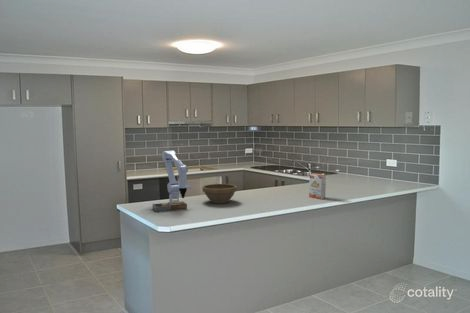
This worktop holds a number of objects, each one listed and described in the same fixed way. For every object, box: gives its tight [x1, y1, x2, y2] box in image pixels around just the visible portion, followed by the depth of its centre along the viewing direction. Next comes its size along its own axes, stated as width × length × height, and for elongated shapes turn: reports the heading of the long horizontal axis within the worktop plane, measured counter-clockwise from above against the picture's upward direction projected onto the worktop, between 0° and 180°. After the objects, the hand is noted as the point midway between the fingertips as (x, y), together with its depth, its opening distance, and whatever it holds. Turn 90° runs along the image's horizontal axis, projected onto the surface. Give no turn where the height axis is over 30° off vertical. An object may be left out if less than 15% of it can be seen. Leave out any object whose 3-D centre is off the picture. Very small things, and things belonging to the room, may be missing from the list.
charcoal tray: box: [152, 202, 172, 213], centre depth 315 cm, size 12×12×4 cm
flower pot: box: [202, 183, 238, 204], centre depth 344 cm, size 28×28×13 cm
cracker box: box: [308, 172, 327, 200], centre depth 360 cm, size 14×6×21 cm, turn 37°
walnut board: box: [167, 200, 188, 211], centre depth 320 cm, size 12×12×4 cm
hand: (183, 197), depth 324 cm, fingers closed
